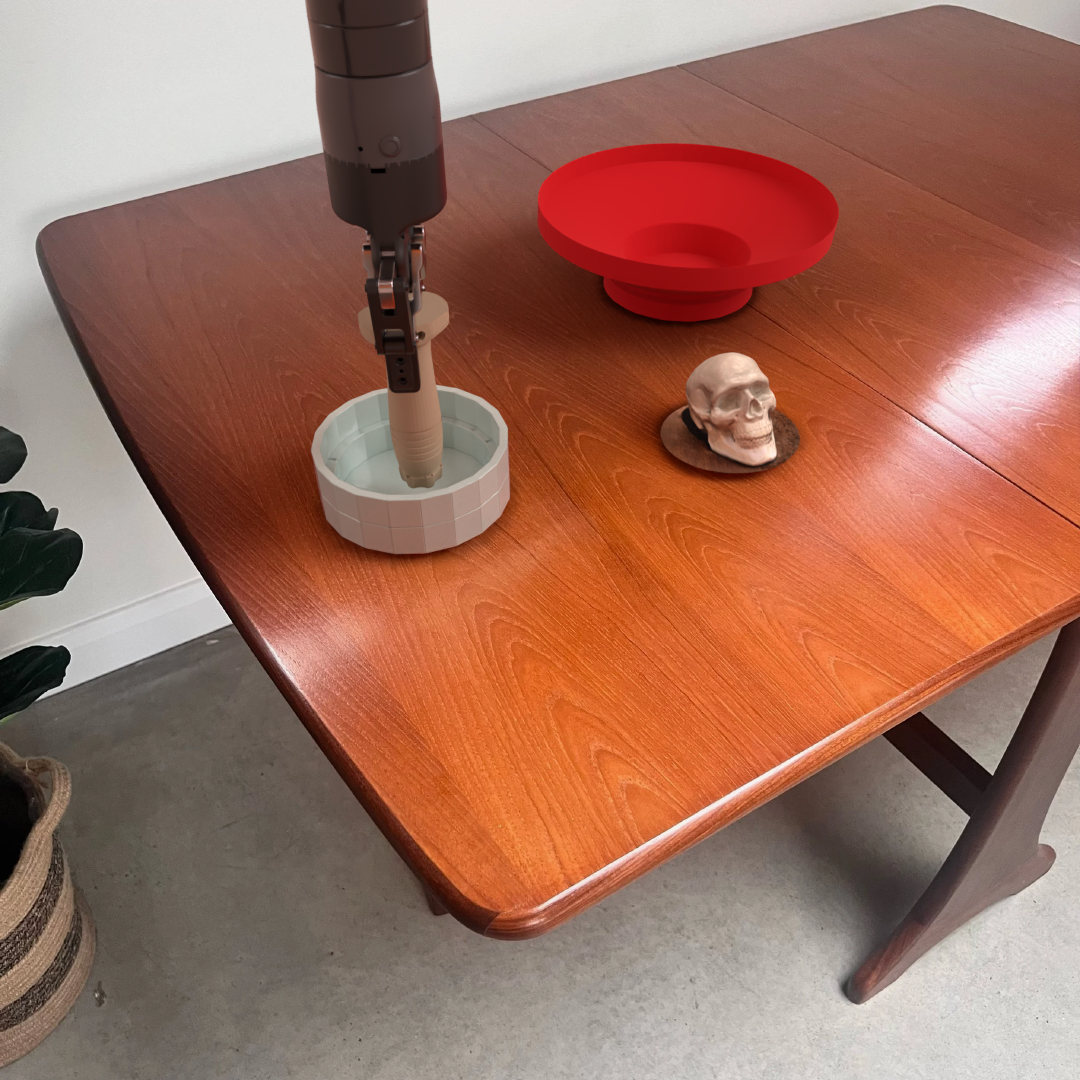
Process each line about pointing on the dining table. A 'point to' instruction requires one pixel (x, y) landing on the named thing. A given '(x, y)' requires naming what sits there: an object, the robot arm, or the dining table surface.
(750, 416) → the skull
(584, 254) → the bowl
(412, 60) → the robot arm
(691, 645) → the dining table surface
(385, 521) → the mixing bowl
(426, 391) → the handle
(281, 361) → the dining table surface
